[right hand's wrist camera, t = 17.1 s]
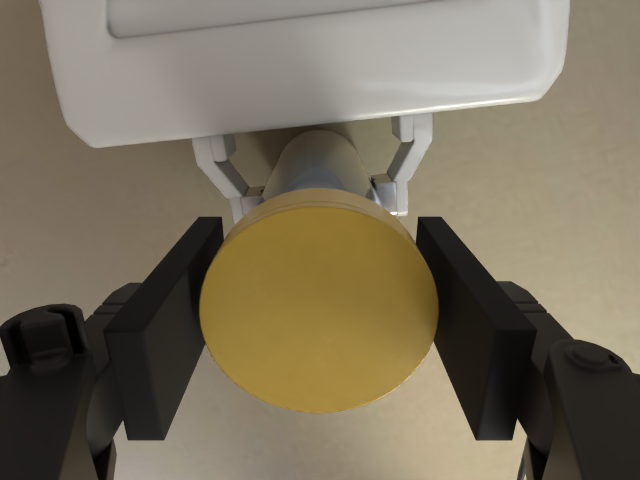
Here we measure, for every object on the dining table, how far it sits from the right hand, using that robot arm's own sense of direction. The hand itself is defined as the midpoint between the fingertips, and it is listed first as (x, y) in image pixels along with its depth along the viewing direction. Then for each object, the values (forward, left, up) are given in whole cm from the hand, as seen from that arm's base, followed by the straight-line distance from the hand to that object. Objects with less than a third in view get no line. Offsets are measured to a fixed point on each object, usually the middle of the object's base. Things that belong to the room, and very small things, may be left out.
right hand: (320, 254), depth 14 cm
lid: (0, 0, +4) cm, 4 cm away
